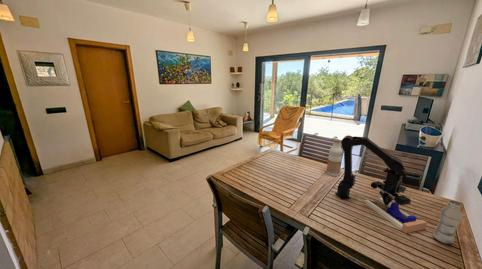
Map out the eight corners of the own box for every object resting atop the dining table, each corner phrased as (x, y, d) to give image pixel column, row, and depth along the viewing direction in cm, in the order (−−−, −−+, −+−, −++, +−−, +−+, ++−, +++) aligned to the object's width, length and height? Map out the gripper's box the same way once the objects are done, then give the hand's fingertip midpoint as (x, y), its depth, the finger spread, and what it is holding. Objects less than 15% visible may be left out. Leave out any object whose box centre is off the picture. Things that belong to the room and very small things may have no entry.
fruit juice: (331, 177, 145) (336, 142, 137) (323, 171, 154) (327, 138, 146) (342, 175, 147) (347, 141, 139) (333, 170, 155) (338, 137, 148)
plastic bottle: (428, 235, 90) (439, 198, 85) (441, 234, 91) (453, 198, 85) (443, 246, 84) (456, 208, 78) (456, 245, 84) (471, 207, 79)
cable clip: (386, 211, 106) (388, 202, 105) (394, 211, 106) (396, 202, 105) (405, 227, 95) (408, 217, 93) (413, 227, 95) (416, 217, 93)
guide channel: (405, 233, 91) (407, 226, 90) (364, 203, 114) (365, 197, 113) (425, 229, 94) (427, 222, 93) (381, 200, 116) (382, 194, 115)
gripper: (422, 188, 95) (415, 214, 100) (388, 171, 113) (382, 194, 117) (405, 191, 93) (398, 217, 98) (372, 173, 111) (367, 196, 115)
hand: (386, 205), depth 107 cm, fingers closed
